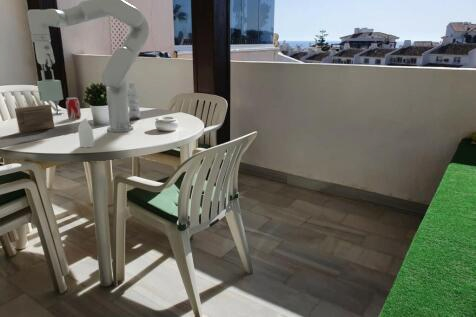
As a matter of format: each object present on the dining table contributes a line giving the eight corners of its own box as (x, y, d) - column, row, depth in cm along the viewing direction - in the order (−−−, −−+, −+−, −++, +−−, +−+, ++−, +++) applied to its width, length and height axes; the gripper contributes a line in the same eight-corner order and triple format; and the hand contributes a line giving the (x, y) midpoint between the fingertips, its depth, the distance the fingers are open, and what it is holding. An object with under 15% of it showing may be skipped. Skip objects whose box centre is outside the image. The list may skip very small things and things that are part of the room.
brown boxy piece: (56, 128, 184) (53, 105, 180) (22, 133, 173) (17, 109, 169) (49, 125, 191) (45, 103, 187) (15, 130, 180) (11, 106, 176)
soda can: (76, 120, 204) (73, 99, 200) (65, 119, 205) (62, 98, 202) (83, 117, 211) (81, 97, 207) (73, 117, 212) (70, 97, 208)
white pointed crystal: (73, 119, 147) (83, 116, 152) (77, 146, 151) (87, 143, 156) (84, 120, 145) (94, 118, 150) (87, 148, 149) (97, 145, 154)
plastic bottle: (136, 116, 213) (133, 83, 207) (143, 118, 209) (140, 83, 202) (126, 118, 208) (123, 84, 202) (133, 120, 204) (130, 84, 198)
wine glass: (51, 113, 223) (47, 89, 218) (65, 112, 225) (62, 88, 221) (49, 115, 216) (45, 90, 211) (63, 115, 218) (60, 90, 213)
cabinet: (63, 99, 173) (58, 69, 168) (43, 101, 167) (38, 71, 162) (59, 98, 176) (54, 69, 172) (40, 100, 170) (34, 70, 166)
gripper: (55, 38, 160) (62, 79, 166) (44, 38, 170) (51, 77, 176) (38, 38, 155) (45, 81, 161) (27, 39, 165) (34, 79, 171)
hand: (48, 79), depth 168 cm, fingers closed on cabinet, 1 cm apart
